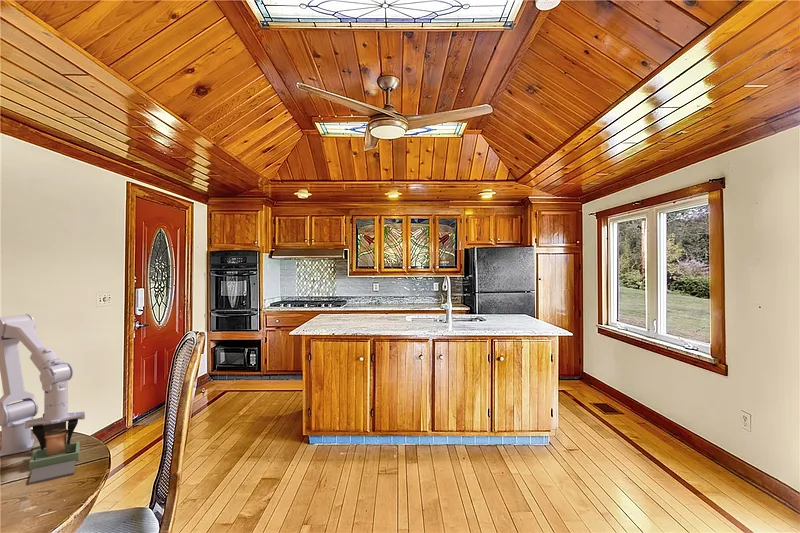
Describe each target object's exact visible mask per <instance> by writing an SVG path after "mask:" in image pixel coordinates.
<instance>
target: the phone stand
mask: <svg viewBox="0 0 800 533" xmlns="http://www.w3.org/2000/svg"><path fill="white" fill-rule="evenodd" d="M42 417H44V413H43V414H42ZM55 429H67V421H66V422H60V423H54V424H48V425H44V434H45V433H46V432H48V431H51V430H55ZM44 442H45V447H44V448H46V439H45V438H44Z"/></svg>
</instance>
